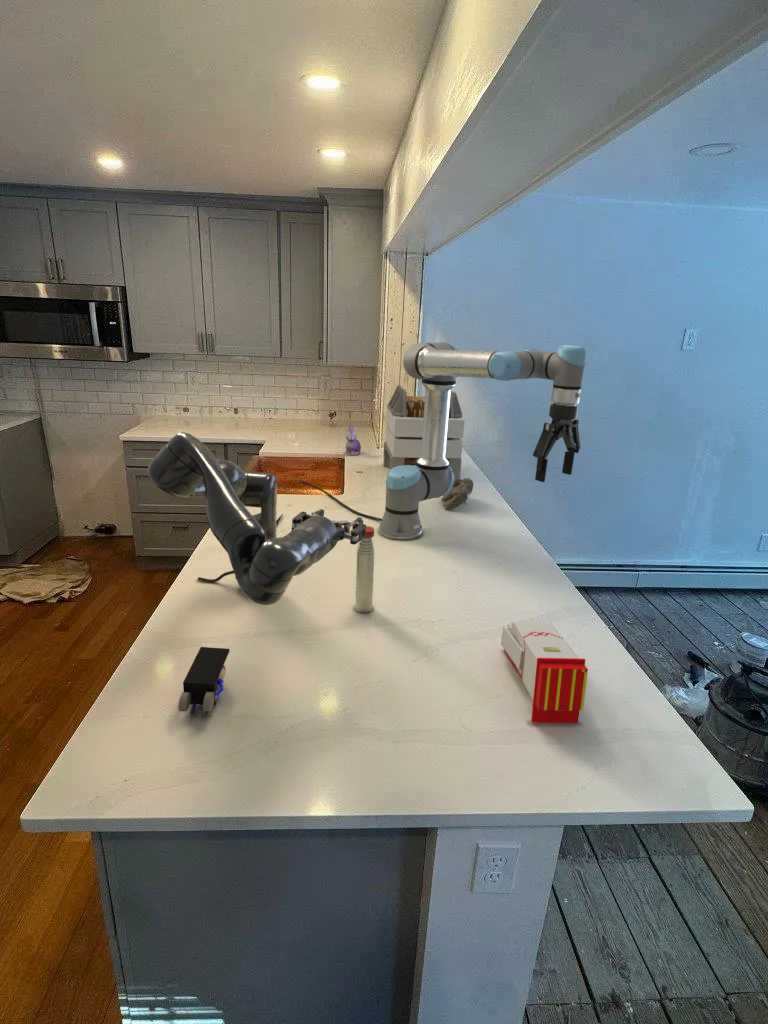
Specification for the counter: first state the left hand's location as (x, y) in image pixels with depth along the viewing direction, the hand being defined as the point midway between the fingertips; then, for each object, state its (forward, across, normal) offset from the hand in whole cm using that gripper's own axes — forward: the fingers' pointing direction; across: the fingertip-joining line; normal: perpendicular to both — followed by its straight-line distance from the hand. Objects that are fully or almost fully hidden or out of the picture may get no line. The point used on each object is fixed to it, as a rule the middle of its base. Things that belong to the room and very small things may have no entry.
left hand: (341, 517), depth 120 cm
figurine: (+178, -56, -25) cm, 188 cm away
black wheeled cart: (-23, -16, -35) cm, 45 cm away
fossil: (+118, +10, -25) cm, 121 cm away
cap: (+20, 0, -9) cm, 22 cm away
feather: (+75, -48, -31) cm, 94 cm away
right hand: (+60, +43, +5) cm, 74 cm away
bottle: (+22, +2, -31) cm, 38 cm away
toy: (+5, +46, -29) cm, 55 cm away
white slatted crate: (+156, -14, -24) cm, 158 cm away
